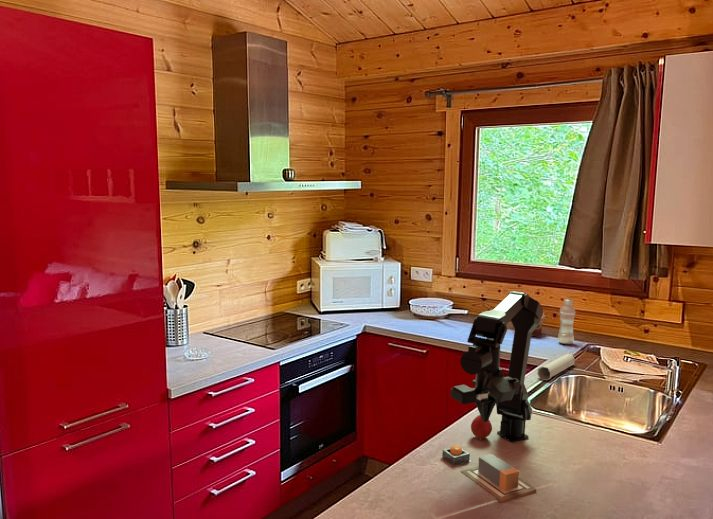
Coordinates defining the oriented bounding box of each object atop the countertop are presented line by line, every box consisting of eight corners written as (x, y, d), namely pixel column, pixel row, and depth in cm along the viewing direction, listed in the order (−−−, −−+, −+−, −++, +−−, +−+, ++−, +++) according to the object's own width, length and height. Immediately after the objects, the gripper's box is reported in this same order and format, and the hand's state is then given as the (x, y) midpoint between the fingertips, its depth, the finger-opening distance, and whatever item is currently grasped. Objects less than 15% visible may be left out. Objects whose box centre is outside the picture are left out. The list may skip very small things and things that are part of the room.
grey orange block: (490, 468, 157) (491, 453, 156) (518, 487, 148) (519, 471, 147) (478, 472, 155) (478, 456, 154) (504, 491, 146) (505, 474, 145)
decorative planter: (502, 328, 295) (504, 300, 292) (522, 326, 300) (524, 298, 298) (531, 339, 277) (533, 309, 275) (552, 337, 282) (554, 307, 280)
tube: (562, 352, 246) (535, 367, 227) (575, 351, 242) (549, 365, 223) (565, 366, 245) (538, 381, 226) (578, 364, 242) (552, 380, 223)
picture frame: (494, 464, 161) (494, 461, 160) (536, 491, 148) (536, 488, 147) (460, 473, 155) (460, 470, 155) (500, 502, 142) (500, 499, 142)
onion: (466, 437, 176) (467, 410, 175) (483, 434, 178) (484, 407, 177) (477, 445, 171) (479, 418, 170) (495, 442, 173) (496, 415, 172)
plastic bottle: (575, 346, 268) (579, 301, 265) (559, 345, 269) (563, 300, 265) (570, 341, 275) (574, 297, 272) (555, 341, 275) (558, 297, 272)
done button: (456, 453, 164) (457, 444, 164) (463, 458, 161) (464, 449, 161) (447, 455, 163) (448, 446, 162) (454, 460, 160) (455, 451, 160)
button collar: (457, 453, 166) (458, 444, 166) (471, 463, 161) (472, 454, 160) (439, 458, 163) (439, 449, 163) (453, 468, 158) (453, 458, 158)
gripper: (477, 379, 146) (474, 441, 149) (538, 368, 154) (534, 427, 157) (450, 364, 156) (448, 423, 158) (509, 355, 164) (506, 410, 166)
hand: (485, 421), depth 160 cm, fingers closed
